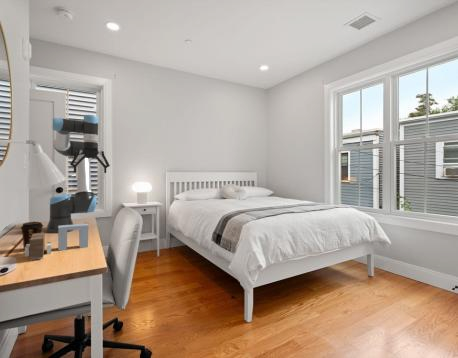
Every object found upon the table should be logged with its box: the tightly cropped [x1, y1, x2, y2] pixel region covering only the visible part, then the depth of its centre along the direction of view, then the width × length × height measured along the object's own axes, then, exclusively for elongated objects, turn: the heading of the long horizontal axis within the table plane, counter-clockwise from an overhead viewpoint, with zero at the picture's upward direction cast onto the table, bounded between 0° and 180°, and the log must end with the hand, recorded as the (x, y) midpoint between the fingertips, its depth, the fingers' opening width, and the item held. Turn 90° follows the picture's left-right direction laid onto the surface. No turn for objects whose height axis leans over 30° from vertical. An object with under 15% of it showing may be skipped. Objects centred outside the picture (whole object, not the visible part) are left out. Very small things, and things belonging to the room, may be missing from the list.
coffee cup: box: [20, 221, 44, 252], centre depth 125 cm, size 9×8×13 cm
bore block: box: [57, 223, 89, 252], centre depth 129 cm, size 5×13×11 cm, turn 124°
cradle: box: [24, 241, 52, 261], centre depth 117 cm, size 13×10×4 cm
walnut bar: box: [29, 232, 46, 260], centre depth 115 cm, size 14×4×8 cm, turn 34°
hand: (90, 178), depth 149 cm, fingers open, 13 cm apart
